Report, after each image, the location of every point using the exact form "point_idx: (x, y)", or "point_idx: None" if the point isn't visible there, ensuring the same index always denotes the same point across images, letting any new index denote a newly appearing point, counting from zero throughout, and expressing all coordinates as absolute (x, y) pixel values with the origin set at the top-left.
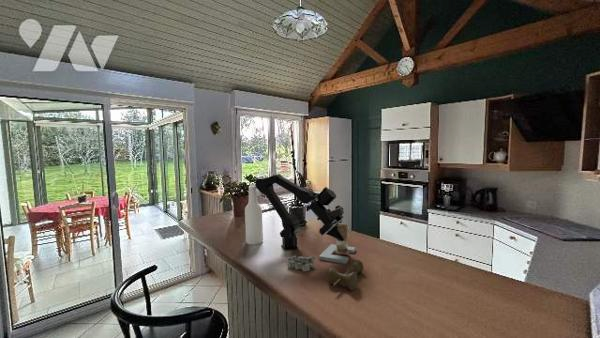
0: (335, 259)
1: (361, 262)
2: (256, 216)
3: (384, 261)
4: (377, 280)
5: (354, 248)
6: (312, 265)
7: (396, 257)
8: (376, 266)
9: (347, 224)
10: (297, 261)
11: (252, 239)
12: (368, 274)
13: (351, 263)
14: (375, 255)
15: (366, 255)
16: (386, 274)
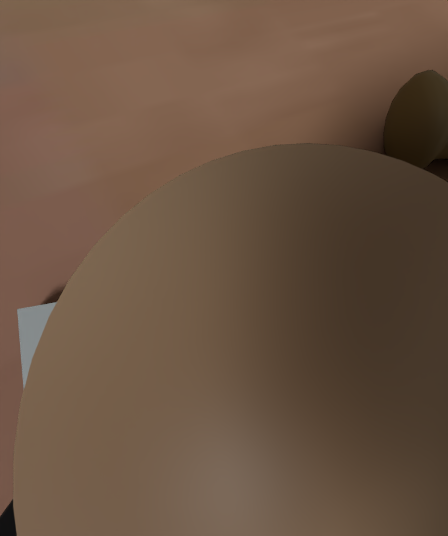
0: None
1: (430, 70)
2: None
3: (141, 55)
4: (403, 33)
5: (52, 304)
6: None
7: (25, 6)
8: (248, 77)
9: (170, 184)
10: None
11: None
12: (376, 86)
13: (441, 150)
14: (61, 132)
15: (98, 189)
16: (313, 11)
